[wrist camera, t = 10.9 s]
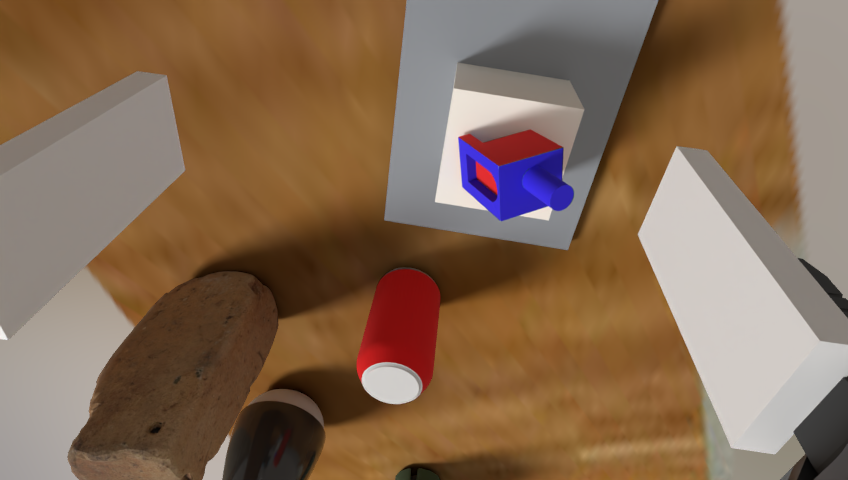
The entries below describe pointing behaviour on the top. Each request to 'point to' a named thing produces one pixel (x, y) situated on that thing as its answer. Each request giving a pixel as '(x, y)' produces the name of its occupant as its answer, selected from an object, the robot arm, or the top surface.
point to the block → (177, 382)
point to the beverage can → (400, 337)
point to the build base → (515, 47)
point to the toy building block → (514, 173)
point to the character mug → (423, 478)
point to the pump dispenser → (276, 438)
